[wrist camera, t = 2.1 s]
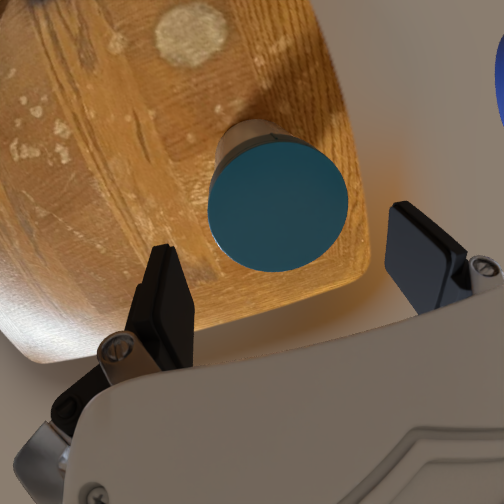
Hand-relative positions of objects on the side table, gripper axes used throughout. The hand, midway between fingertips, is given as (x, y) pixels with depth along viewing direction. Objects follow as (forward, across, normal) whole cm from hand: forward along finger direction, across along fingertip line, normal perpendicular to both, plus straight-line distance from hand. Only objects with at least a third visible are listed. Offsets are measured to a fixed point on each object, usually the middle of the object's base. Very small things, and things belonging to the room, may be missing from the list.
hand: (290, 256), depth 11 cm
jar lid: (+4, 0, 0) cm, 4 cm away
